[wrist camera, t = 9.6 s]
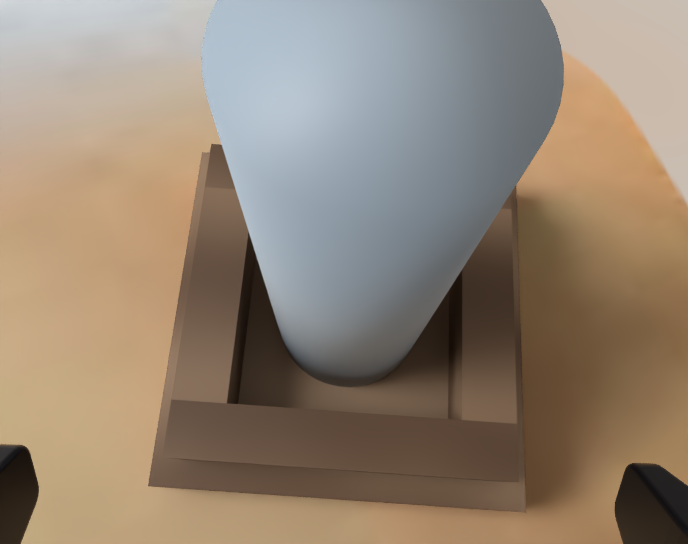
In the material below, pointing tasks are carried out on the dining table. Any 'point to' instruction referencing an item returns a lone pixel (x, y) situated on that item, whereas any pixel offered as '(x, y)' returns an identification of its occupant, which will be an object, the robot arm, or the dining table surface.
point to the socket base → (335, 401)
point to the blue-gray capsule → (374, 155)
